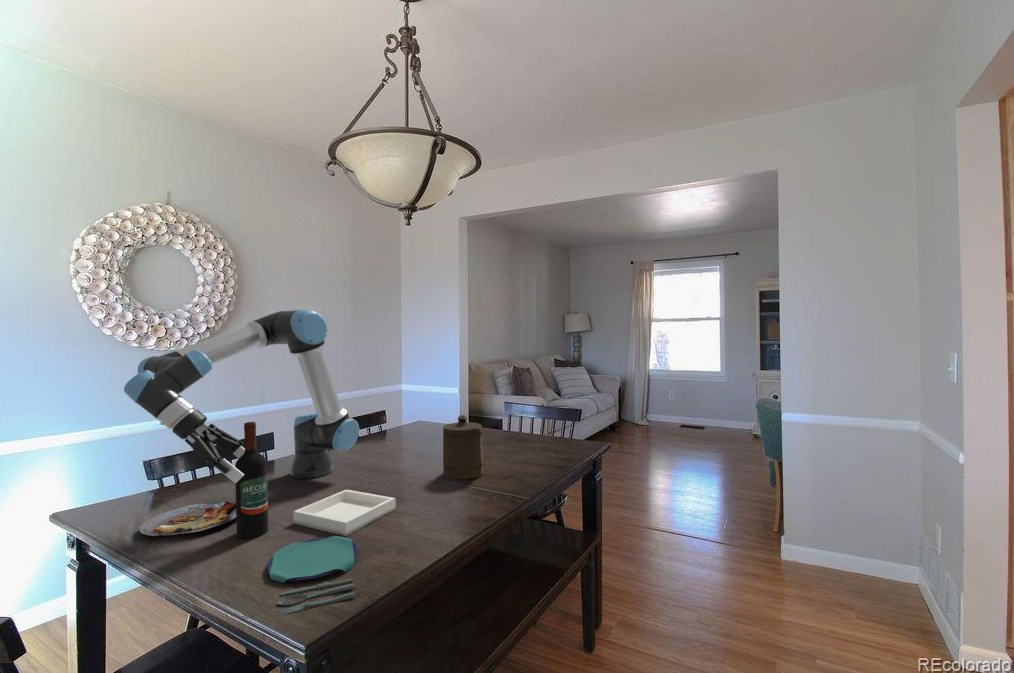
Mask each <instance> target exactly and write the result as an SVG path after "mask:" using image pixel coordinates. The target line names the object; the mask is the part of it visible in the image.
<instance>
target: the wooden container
mask: <svg viewBox="0 0 1014 673" xmlns="http://www.w3.org/2000/svg"><path fill="white" fill-rule="evenodd" d="M467 419H468V418H467V416H465V414H464V415H463V414H461V415H459V416H458V417H457V422H453V423H448V424H445V425H443V426H442V433H443V435H442V438H443V439H442V442H443V443H442V462H443V463H442V465H443V466H442V468H443V469H442V470H443V476H444V477H445V478H447V479H452V480H459V479H461V480H470V478H472V479H476V478H478V476H479V477H480V476H482V475H484V474H483V473H484V464H483V463H484V461H483V460H484V456H483V454H484V453H483V436H482V434H483V431H482V429H483V428H482V427H483V426H482V424H481V423H477V422H468V421H467ZM475 477H476V478H475Z"/></svg>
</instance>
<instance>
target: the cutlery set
mask: <svg viewBox="0 0 1014 673" xmlns="http://www.w3.org/2000/svg"><path fill="white" fill-rule="evenodd" d="M358 551H359V547H358V545H357V543H356V542H354V541H353V539H352V538H349V537H345V536H341V535H339V536H338V535H332V536H326V537H325V536H323V537H317V538H312V539H309V540H308V539H307V540H304V541H303V540H302V541H297V542H293V543H290V544H288V545H285V546H284V547H282V548H281V549H278V551H275V552H274V553H273V556H272V557H271V558H270V559H269V561H268V562H267V563H266V570H267V574H269V577H270V579H271V580H272V581H275V582H279V583H282V584H284V583H285V582H286V581H288V582H289V581H292V582H302V581H308V580H309V581H310V580H315V579H319V578H322V577H325V576H329V575H331V574H333V573H336V572H338V571H340V570H342V571H344V572H345V573H347V571H349V570H350V569H351V568H352V567H353V565H354V563H355V558H356V557H357V556H358ZM353 578H354V577H352V578H349V579H345V580H340V581H333V582H326V581H325V582H323V583H318V584H317V585H313V586H306V587H301V588H295V589H293V590H292V589H291V590H287V591H284V592H280V593H279V594H278V596H279V597H283V596H285V597H283V598H281V599H279V600H277V605H281V606H285V607H287V606H290V607H288V608H283V609H279V610H276V613H275V616H277V617H278V616H281V615H287V614H292V613H298V612H299V613H300V612H302V611H304V610H305V609H309V608H310V607H316V606H317V607H319V606H322V605H328V604H333V603H336V602H341V601H343V600H350V599H355V597H356V596H355V591H354V592H353V591H352V592H350V593H349V592H348V593H345V594H341V595H338V596H335V597H333V598H329V599H325V600H319V601H313V602H310V601H306V600H308V599H311V598H315V597H318V596H319V597H320V596H322V595H326V594H330V593H336V592H339V591H346V590H352V589H354V583H353V582H354V579H353ZM347 582H352V583H350V584H349V583H348V584H346V585H341V586H338V587H337V586H336V587H334V588H329V589H327V590H324V591H321V592H317V593H314V594H312V595H309V594H306V593H303V592H308V591H311V590H313V591H314V590H320V589H326V588H328V587H329V586H333V585H336V584H340V583H341V584H342V583H347ZM294 598H304V599H302V600H300V601H296V602H293V603H286V604H285V603H284V602H285V601H288V600H290V599H294ZM305 601H306V602H305ZM283 603H284V604H283Z"/></svg>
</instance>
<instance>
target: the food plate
mask: <svg viewBox="0 0 1014 673" xmlns="http://www.w3.org/2000/svg"><path fill="white" fill-rule="evenodd" d="M208 507H209V508H208ZM211 507H213V508H211ZM201 508H206V509H205V512H204V514H203V513H202V514H201V515H202V516H201V515H200V516H199V514H192V515H190V516H180V517H177V518H176V519H172V520H170V521H168V522H169V523H174V522H187V521H194V520H197V519H199V518H200V517H204V519H210V520H202V521H196V522H188V523H182V524H172V525H171V524H170V525H169V524H165V525H160V526H159V527H157V528H155V527H156V526H157V525H159V524H160V523H161V522H165V520H167V519H170V518H173V517H175V516H177V515H181V514H183V513H184V512H186V513H188V512H187V511H188V510H197V509H201ZM214 508H220V509H218V510H216V509H214ZM190 512H192V511H190ZM228 515H229V516H228ZM234 520H236V501H229V500H227V501H215V502H214V501H213V502H204V503H203V502H202V503H195V504H190V505H185V506H183V507H179V508H176V509H173V510H169V511H165V512H163V513H161V514H157V515H155V516H153V517H151V518H149V519H148V520H146V521H145V522H144V523H142V524H141V525H140V527H139V532H140V533H142V535H146V536H150V537H151V536H152V537H155V536H169V537H170V536H173V535H179V534H180V535H181V534H182V535H184V536H185V534H191V533H196V532H197V533H198V532H203V531H208V530H212V529H213V528H217V527H219V526H222V525H225V524H227V523H229V522H232V521H234ZM151 527H152V528H151ZM154 528H155V529H154ZM153 529H154V530H153ZM172 529H176V530H172ZM152 530H153V532H151V531H152Z"/></svg>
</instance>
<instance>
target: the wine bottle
mask: <svg viewBox="0 0 1014 673" xmlns="http://www.w3.org/2000/svg"><path fill="white" fill-rule="evenodd" d="M243 432H244V449H245V451H244V454H243V455H242V456H241V457H240V458H237V460H236V461H235V463H234V466H235V467H236V468H237V469H238V470H239V471H241V472H242V473H243V474H244V476H243V477H242V478H241V479H240V480H239V481H238V482H237V483H236V484H235V483H234V484H235V485H234V486H235V502H236V518H235V520H236V522H235V523H236V526H235V527H236V538H237V537H238V539H239V538H241V539H240V540H250V538H252V539H256V538H259V537H262V536H263V534H264V535H266V534H267V533H268V532H269V503H268V502H269V500H268V498H269V497H268V496H269V495H268V463H267V458H266V457H265V456H264V455H263V454H262V453H260V452H258V449H257V422H255V421H247V422H244V424H243ZM265 533H266V534H265ZM255 537H256V538H255Z"/></svg>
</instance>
